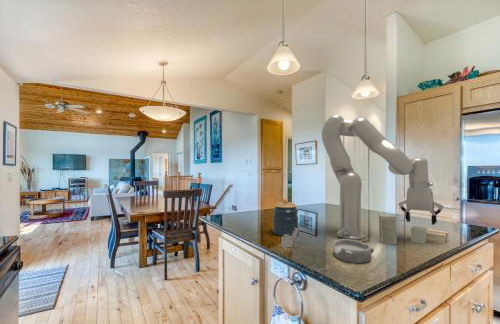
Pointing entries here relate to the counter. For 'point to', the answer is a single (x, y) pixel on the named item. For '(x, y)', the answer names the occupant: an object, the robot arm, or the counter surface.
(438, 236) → the beech block
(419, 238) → the grey-green block
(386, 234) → the skincare box
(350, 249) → the dish
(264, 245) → the counter surface
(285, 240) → the lighter
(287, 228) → the canister
